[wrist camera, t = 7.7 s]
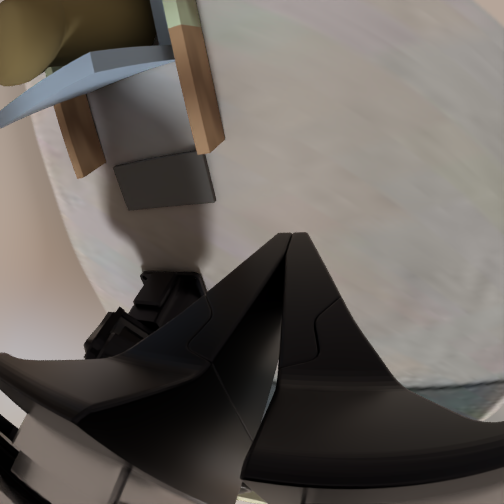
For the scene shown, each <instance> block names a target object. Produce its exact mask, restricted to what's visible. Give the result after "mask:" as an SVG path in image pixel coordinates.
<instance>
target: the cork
mask: <svg viewBox="0 0 504 504" xmlns="http://www.w3.org/2000/svg"><path fill="white" fill-rule="evenodd" d="M156 34H157V32H156V28H155V23H154V18H153V13H152V8H151V3H150V0H4V1H2V2H1V3H0V85H3V86H15V85H20V84H23V83H26V82H29V81H31V80H32V79H34V78H35V77H37V76H38V75H40V74H41V73H43V72H44V71H46V69H47V68H48V67H58V66H65V65H67V64H69V63H71V62H72V61H74V60H76V59H78V58H80V57H81V56H83V55H85V54H87V53H89V52H93V51H100V50H108V49H117V48H127V47H140V46H151V45H152V44H153V42H154V39H155V37H156Z"/></svg>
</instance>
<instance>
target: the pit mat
mask: <svg viewBox="0 0 504 504" xmlns="http://www.w3.org/2000/svg"><path fill="white" fill-rule="evenodd" d="M113 169H114V172H115V175H116V177H117V180H118V183H119V186H120V189H121V192H122V194H123V197H124V200H125V202H126V205H127V208H128V210H138V209H148V208H158V207H168V206H179V205H191V204H203V203H214V202H215V201H216V198H215V194H214V190H213V186H212V182H211V178H210V174H209V170H208V165H207V161H206V157H205V154H200V155H197V151H190V152H184V153H178V154H172V155H166V156H161V157H156V158H151V159H145V160H141V161H136V162H131V163H126V164H122V165H117V166H115V167H113Z"/></svg>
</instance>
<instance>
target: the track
mask: <svg viewBox="0 0 504 504" xmlns="http://www.w3.org/2000/svg"><path fill="white" fill-rule="evenodd" d="M162 1H163V6H164V11H165V16H166V21H167V25H168V30H169V35H170V39H171V44H172V48H173V53H174V58H175V62H176V66H177V71H178V75H179V80H180V84H181V88H182V93H183V97H184V101H185V105H186V110H187V114H188V118H189V122H190V126H191V130H192V134H193V138H194V142H195V147H196V151H197V155H200V154H207V153H211V152H212V151H213V150H214V149H215V148H216V147H217V146H218V145H219V144H220V143H222V142H223V141H224V140H225V136H224V132H223V127H222V122H221V118H220V113H219V108H218V104H217V99H216V94H215V90H214V85H213V80H212V76H211V71H210V66H209V62H208V57H207V52H206V47H205V43H204V38H203V33H202V29H201V24H200V19H199V14H198V10H197V5H196V0H162ZM62 67H64V66H58V67H48V68H47V69H46V71H45V73H46V77H48V76H49V75H51V74H52V73H54V72H56V71H57V70H59V69H60V68H62ZM54 109H55V112H56V116H57V119H58V123H59V126H60V129H61V132H62V136H63V139H64V142H65V145H66V148H67V151H68V154H69V157H70V160H71V162H72V165H73V168H74V171H75V174H76V176H77V179H79V178H83V177H85V176H87V175H88V174H89V173H91V172H92V171H94V170H95V169H97V168H98V167H100V166H101V165H103V164H104V163H106V160H105V157H104V154H103V151H102V148H101V145H100V141H99V138H98V135H97V132H96V128H95V125H94V122H93V118H92V115H91V111H90V108H89V104H88V100H87V97H86V94H84V95H81V96H78V97H75V98H72V99H69V100H66V101H64V102H61V103H58V104H56V105H54Z"/></svg>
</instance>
